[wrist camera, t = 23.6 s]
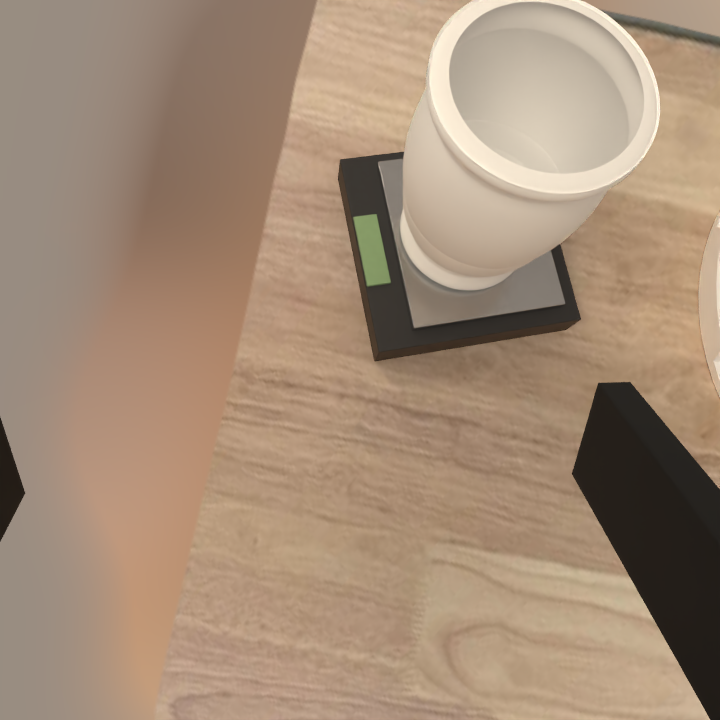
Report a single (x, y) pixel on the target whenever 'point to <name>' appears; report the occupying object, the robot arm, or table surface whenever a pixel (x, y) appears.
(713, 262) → the cable organizer
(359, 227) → the scale
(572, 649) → the table surface
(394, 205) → the scale platform
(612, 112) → the jar
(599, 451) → the robot arm
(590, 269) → the table surface
